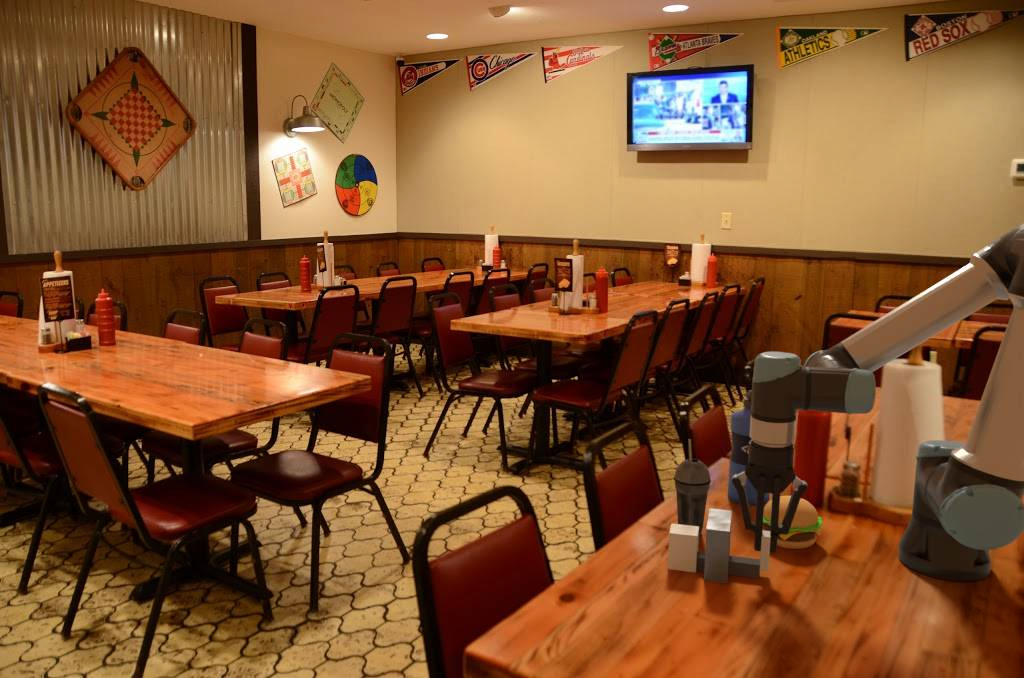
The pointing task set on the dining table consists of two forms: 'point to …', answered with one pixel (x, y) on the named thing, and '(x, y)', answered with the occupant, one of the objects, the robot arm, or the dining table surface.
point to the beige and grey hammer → (702, 554)
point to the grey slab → (717, 545)
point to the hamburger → (795, 524)
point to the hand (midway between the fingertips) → (763, 567)
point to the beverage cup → (692, 491)
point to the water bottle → (741, 451)
